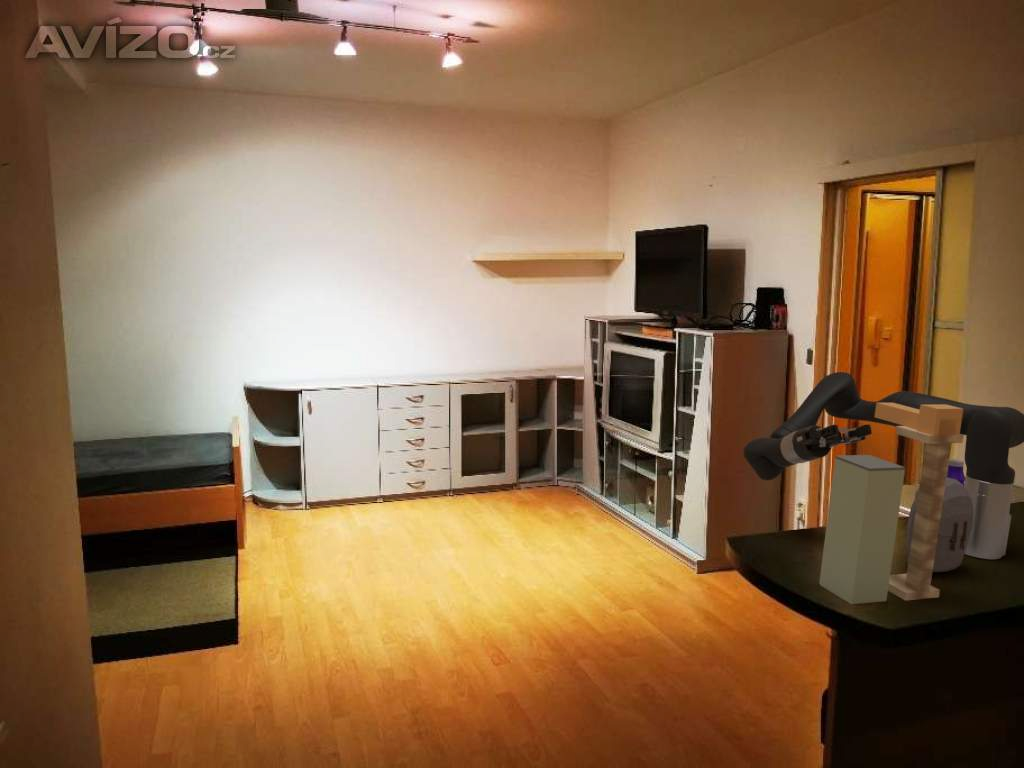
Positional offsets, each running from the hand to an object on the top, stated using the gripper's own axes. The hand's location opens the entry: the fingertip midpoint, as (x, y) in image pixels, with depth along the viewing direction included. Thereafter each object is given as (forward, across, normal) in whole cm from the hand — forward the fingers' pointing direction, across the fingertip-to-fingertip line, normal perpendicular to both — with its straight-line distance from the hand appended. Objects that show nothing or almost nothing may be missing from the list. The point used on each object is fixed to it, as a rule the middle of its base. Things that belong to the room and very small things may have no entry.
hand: (853, 429), depth 168 cm
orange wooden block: (+16, 0, -3) cm, 16 cm away
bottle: (-21, -40, -20) cm, 50 cm away
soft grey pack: (-2, -15, -30) cm, 34 cm away
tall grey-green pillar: (+4, +12, -33) cm, 35 cm away
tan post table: (+5, 0, -34) cm, 34 cm away
